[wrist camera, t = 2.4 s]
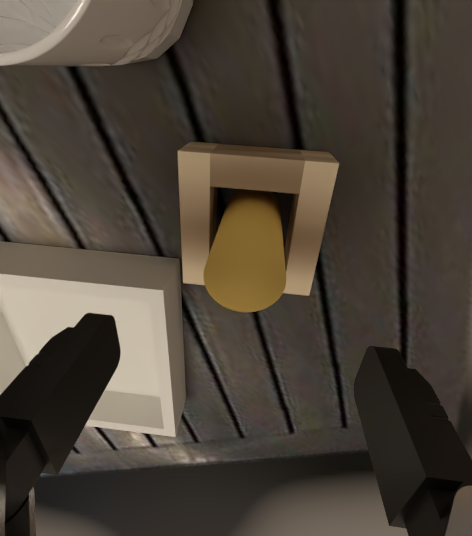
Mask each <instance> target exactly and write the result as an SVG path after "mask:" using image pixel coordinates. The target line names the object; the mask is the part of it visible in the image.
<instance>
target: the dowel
mask: <svg viewBox="0 0 472 536" xmlns="http://www.w3.org/2000/svg"><path fill="white" fill-rule="evenodd" d="M203 278H204V284H205V287H206V289H207V291H208V293H209V294H210V295H211V297H212V298H213V299H214V300H215V301H216V302H218V303H219V304H221V305H222V306H224V307H226V308H228V309H231V310H234V311H239V312H255V311H259V310H262V309H265V308H267V307H269V306H271V305H272V304H274V303H275V302H276V301H277V300H278V299H279V298H280V297H281V295H282V293H283V291H284V289H285V286H286V268H285V257H284V246H283V235H282V223H281V212H280V205H279V202H278V200H277V198H276V196H275V195H274V194H273V193H272V192H271V191H259V190H248V189H238V190H237V191H236V192H234V193H233V194H232V196H231V197H230V199H229V201H228V203H227V206H226V209H225V212H224V214H223V217H222V220H221V223H220V226H219V228H218V231H217V234H216V237H215V240H214V242H213V245H212V248H211V251H210V253H209V256H208V259H207V262H206V265H205V268H204V274H203Z"/></svg>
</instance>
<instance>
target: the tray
mask: <svg viewBox="0 0 472 536" xmlns="http://www.w3.org/2000/svg"><path fill="white" fill-rule="evenodd" d="M86 313H97V314H105V315H112V316H113V317H114V318H115V322H116V328H117V333H118V338H119V344H120V350H121V354H120V360H119V364H118V367H117V369H116V371H115V372H114V374H113V376H112V378H111V380H110V381H109V383H108V385H107V387H106V389H105V390H104V392H103V394H102V396H101V398H100V399H99V401H98V403H97V405H96V407H95V408H94V410H93V412H92V414H91V415H90V417H89V419H88V421H87V423H86V424H85V425H86V426H94V427H102V428H110V429H117V430H125V431H133V432H141V433H149V434H157V435H164V436H172V437H176V434H177V430H178V426H179V422H180V419H181V415H182V411H183V407H184V404H185V400H186V382H185V361H184V340H183V319H182V298H181V277H180V259H179V258H168V257H158V256H148V255H137V254H127V253H117V252H106V251H96V250H86V249H75V248H65V247H55V246H44V245H34V244H24V243H13V242H3V241H0V395H1V393H2V392H3V391H4V390H5V389H6V388H7V387H8V386H9V385H10V383H11V382H12V381H13V380H14V379H15V378H16V377H17V376H18V374H19V373H20V372H21V371H22V370H23V369H24V368H25V367H26V366H28V365H29V362H30V361H31V360H32V359H33V358H34V357H35V355H36V354H39V351H40V350H41V349H42V348H43V346H44V345H45V344H46V343H47V342H48V341H49V340H50V339H51V338H52V337H53V336H55V335H56V334H58V333H59V332H61V331H62V330H64V329H66V328H67V327H73V328H74V327H75V326H76V324H77V323H78V322H79V321H80V320H81V318H82V317H83V316H84V315H85V314H86Z"/></svg>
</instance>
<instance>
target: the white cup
mask: <svg viewBox="0 0 472 536" xmlns="http://www.w3.org/2000/svg"><path fill="white" fill-rule="evenodd" d="M192 6H193V0H0V66H78V67H94V66H111V65H124V64H131V63H137V62H142V61H148V60H154V59H158V58H159V57H160V56H161V55H162V54H163V53H164V52H165V51H166V50H168V49H169V48H170V47H171V46H172V45H173V44H174V43H175V42H176V41H177V40H179V39H180V36H181V34H182V31H183V29H184V26H185V24H186V21H187V19H188V16H189V13H190V11H191V8H192Z"/></svg>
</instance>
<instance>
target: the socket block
mask: <svg viewBox="0 0 472 536" xmlns="http://www.w3.org/2000/svg"><path fill="white" fill-rule="evenodd" d="M338 167H339V163H338V162H337V160H336V159H335V158H334V157H333V156H332V155H331V154H330V153H329V152H322V151H308V150H295V149H282V148H269V147H256V146H243V145H230V144H217V143H204V142H189V143H188V144H187V145H185V146H184V147H182V148H181V149H179V150H178V173H179V197H180V221H181V244H182V268H183V283H188V284H198V285H205V284H204V278H203V274H204V268H205V265H206V262H207V259H208V256H209V253H210V251H211V248H212V245H213V242H214V240H215V237H216V234H217V195H218V187H224V188H236V189H248V190H259V191H271V192H283V193H293V196H292V203H291V209H290V215H289V222H288V228H287V234H286V241H285V247H284V257H285V268H286V286H285V289H284V291H283V293H288V294H298V295H308V296H309V294H310V290H311V286H312V281H313V277H314V272H315V268H316V264H317V259H318V255H319V250H320V246H321V242H322V237H323V233H324V228H325V224H326V220H327V215H328V211H329V206H330V202H331V198H332V193H333V189H334V184H335V180H336V176H337V171H338Z"/></svg>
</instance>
